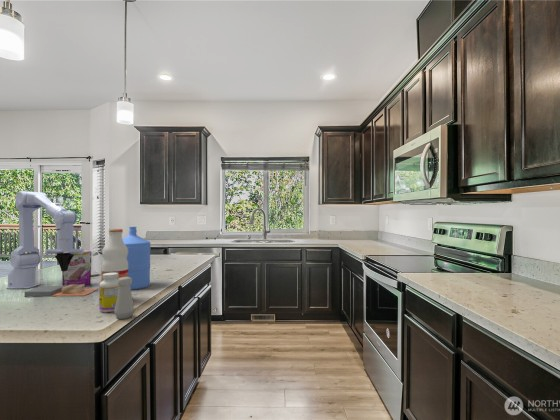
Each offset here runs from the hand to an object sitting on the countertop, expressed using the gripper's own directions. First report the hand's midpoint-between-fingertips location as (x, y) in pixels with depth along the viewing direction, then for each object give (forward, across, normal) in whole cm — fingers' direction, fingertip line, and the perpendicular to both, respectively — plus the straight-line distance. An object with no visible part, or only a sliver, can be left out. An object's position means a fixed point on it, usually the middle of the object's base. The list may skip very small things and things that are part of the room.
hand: (64, 271), depth 132 cm
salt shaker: (+10, +38, -34) cm, 52 cm away
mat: (+9, +5, 0) cm, 11 cm away
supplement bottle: (+10, +30, -26) cm, 41 cm away
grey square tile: (+9, -7, 0) cm, 12 cm away
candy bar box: (+10, -2, +12) cm, 16 cm away
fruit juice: (+10, +26, -12) cm, 30 cm away
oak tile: (+9, +4, 0) cm, 10 cm away
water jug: (+10, +24, +10) cm, 28 cm away
